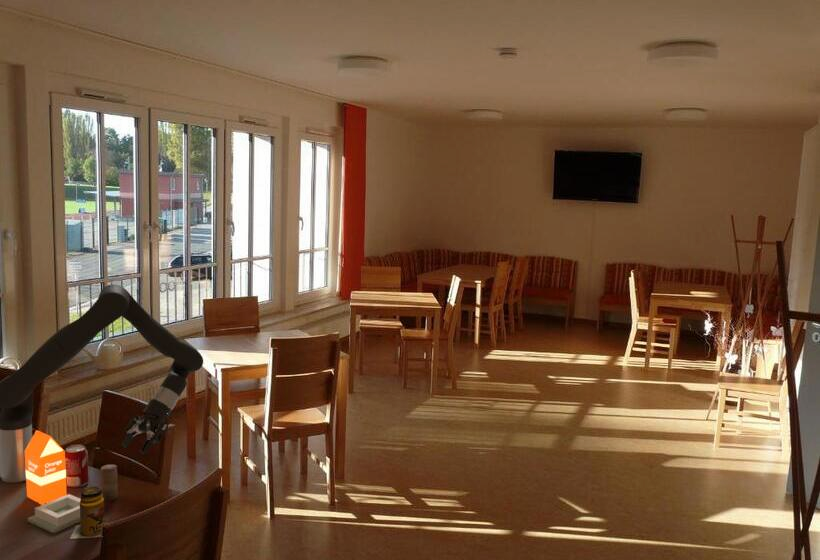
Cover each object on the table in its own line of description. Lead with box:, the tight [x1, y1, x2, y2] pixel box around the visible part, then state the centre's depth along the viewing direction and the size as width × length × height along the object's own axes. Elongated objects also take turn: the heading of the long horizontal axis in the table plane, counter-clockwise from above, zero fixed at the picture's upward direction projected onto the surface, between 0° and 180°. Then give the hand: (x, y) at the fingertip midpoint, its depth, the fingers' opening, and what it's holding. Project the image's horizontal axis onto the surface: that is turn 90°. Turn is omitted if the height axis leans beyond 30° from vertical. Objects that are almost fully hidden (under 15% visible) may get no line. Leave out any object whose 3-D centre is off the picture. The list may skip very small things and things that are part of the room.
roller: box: [100, 464, 119, 502], centre depth 212 cm, size 4×4×10 cm
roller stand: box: [27, 493, 81, 534], centre depth 200 cm, size 12×14×4 cm
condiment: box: [69, 486, 108, 540], centre depth 192 cm, size 7×8×12 cm
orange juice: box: [24, 429, 68, 506], centre depth 211 cm, size 8×9×20 cm
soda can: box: [65, 444, 90, 489], centre depth 220 cm, size 7×7×12 cm
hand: (132, 449), depth 219 cm, fingers open, 8 cm apart
